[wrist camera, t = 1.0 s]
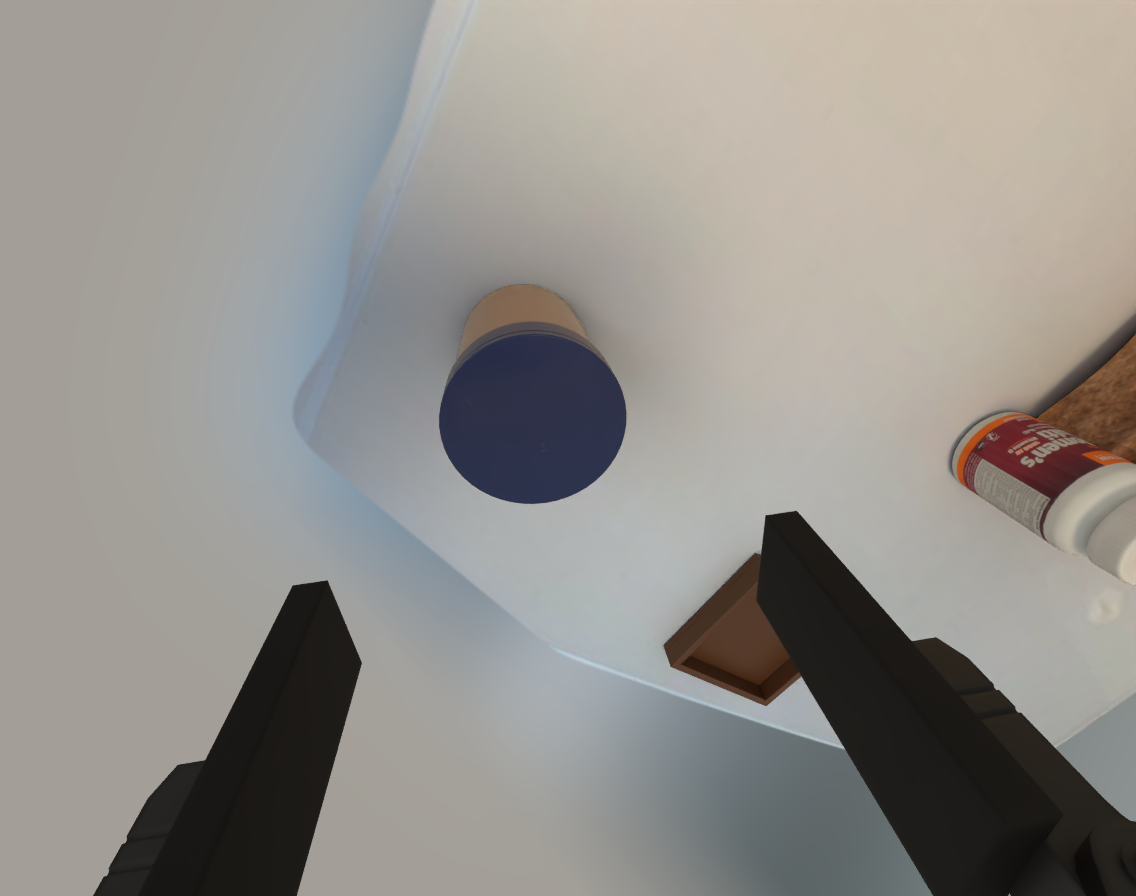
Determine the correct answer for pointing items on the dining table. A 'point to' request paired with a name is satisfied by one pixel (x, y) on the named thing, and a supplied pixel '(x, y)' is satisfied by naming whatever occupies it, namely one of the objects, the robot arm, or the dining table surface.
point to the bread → (1103, 406)
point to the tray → (734, 642)
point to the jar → (518, 312)
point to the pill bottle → (1055, 487)
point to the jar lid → (532, 413)
